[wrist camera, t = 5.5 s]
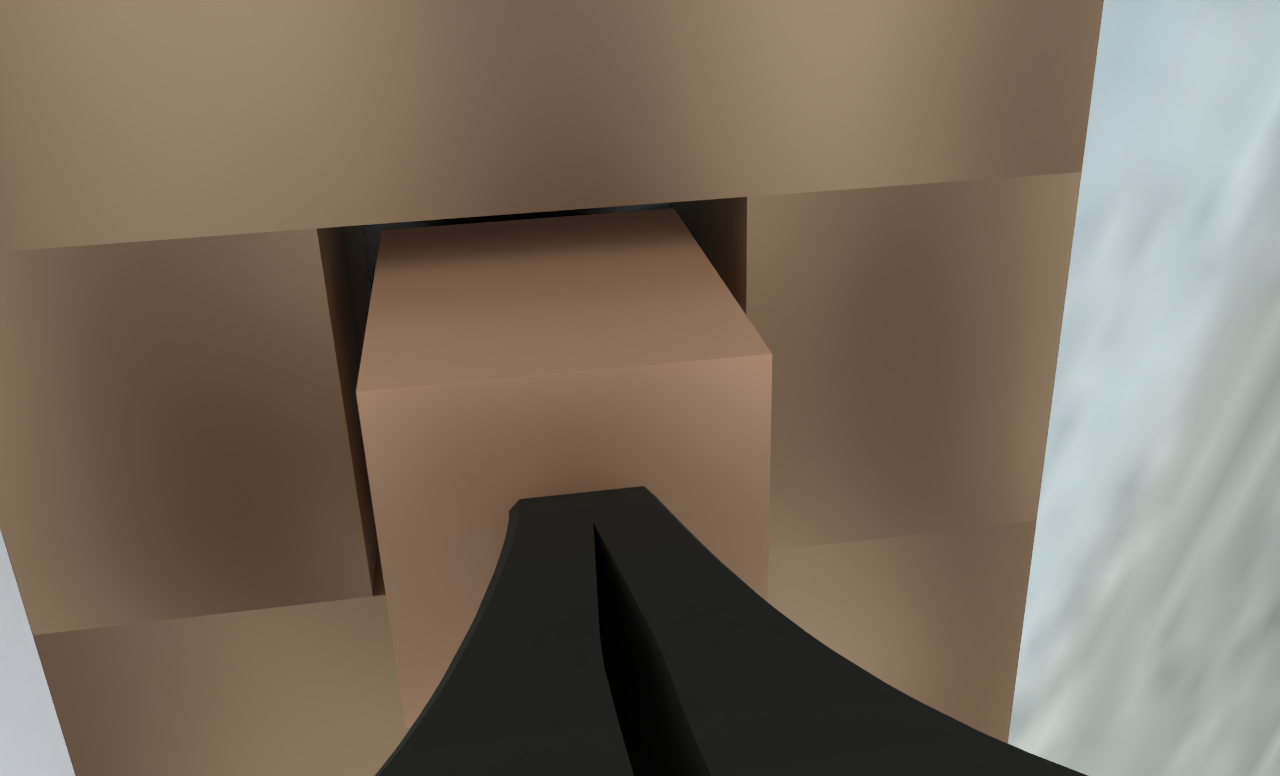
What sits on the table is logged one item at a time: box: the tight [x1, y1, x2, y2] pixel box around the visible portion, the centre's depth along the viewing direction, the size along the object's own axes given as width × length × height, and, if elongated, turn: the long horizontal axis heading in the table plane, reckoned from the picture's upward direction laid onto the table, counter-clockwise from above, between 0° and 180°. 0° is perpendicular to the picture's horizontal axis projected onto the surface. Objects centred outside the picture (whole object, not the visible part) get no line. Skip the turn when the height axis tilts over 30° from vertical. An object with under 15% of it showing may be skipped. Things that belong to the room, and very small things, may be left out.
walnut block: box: [0, 0, 1104, 776], centre depth 20 cm, size 14×24×6 cm, turn 2°
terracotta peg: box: [356, 208, 772, 728], centre depth 14 cm, size 4×4×5 cm
